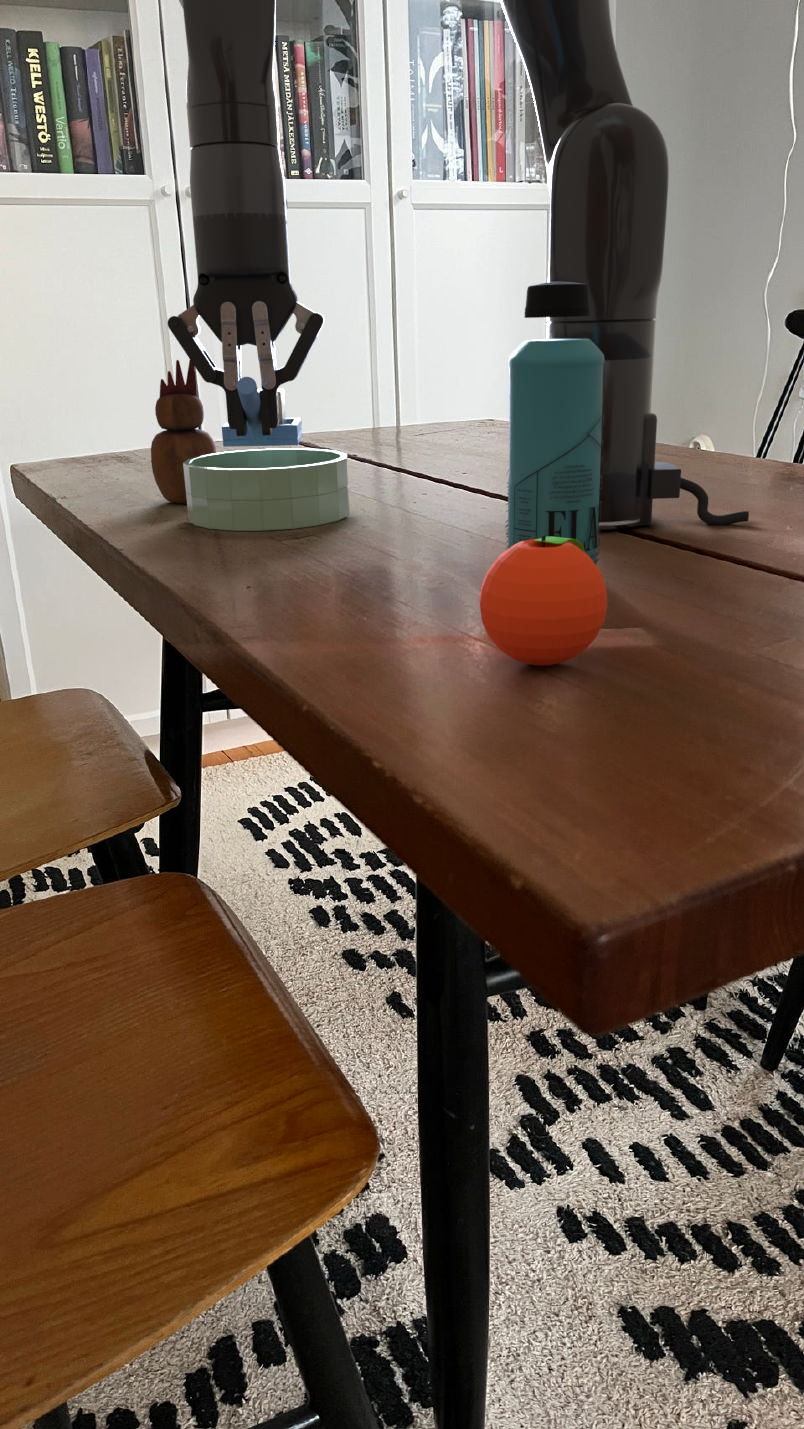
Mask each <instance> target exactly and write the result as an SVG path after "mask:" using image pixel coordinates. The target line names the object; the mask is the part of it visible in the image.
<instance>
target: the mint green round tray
mask: <svg viewBox="0 0 804 1429" xmlns="http://www.w3.org/2000/svg"><path fill="white" fill-rule="evenodd" d="M183 468H184V478H185V488H186V498H187V504H186V506H187V516H188V521H189V522H190V523H191V524H192V525H193V526H195V527H200V528H205V529H209V530H218V531H231V532H266V531H267V532H269V531H281V530H282V531H283V530H295V529H303V528H310V527H311V528H312V527H317V526H322V525H326V524H331V523H335V522H339V521H341V520H342V519H345V518H347V517H349V516H350V496H349V495H350V493H349V473H348V472H349V471H348V470H349V468H348V454H347V453H344V452H341V451H337V450H330V449H322V448H321V449H320V448H294V447H293V448H261V449H260V448H258V449H245V450H244V449H243V450H234V451H233V450H232V451H223V452H216V453H215V454H208V455H202V456H198V457H194V458H191V459H187V460H186V461H185V462H184V463H183Z"/></svg>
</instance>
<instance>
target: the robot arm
mask: <svg viewBox="0 0 804 1429" xmlns="http://www.w3.org/2000/svg"><path fill="white" fill-rule="evenodd" d="M178 2H179V4H180V6H181V9H182V12H183V20H184V22H183V23H184V29H185V30H184V31H185V39H186V48H187V62H188V67H187V74H186V87H185V89H186V90H185V92H186V94H185V97H186V98H185V99H186V115H187V127H188V128H187V129H188V138H189V139H188V140H189V149H190V151H189V152H190V165H189V190H190V204H191V214H192V226H193V227H192V228H193V239H194V252H195V262H196V271H197V272H196V274H197V286H196V290H195V292H194V295H193V298H192V302H193V304H192V305H191V306H189V307H188V308H186V309H185V310H183V311H182V312H181V313H179V314H178V315H172V316H170V317H169V318H168V320H167V327H168V329H169V330H170V331H171V333H172V335H173V336H174V337H175V339H176V341H177V343H178V344H179V345H180V346H181V348H182V350H183V351H184V352H185V354H186V356H187V357H188V359H189V361H190V360H191V362H192V363H193V365H194V368H195V369H196V371H197V372H198V374H199V375H200V377H201V378H202V380H203V381H204V382H205V383H208V384H213V385H216V386H219V387H220V388H222V389H223V391H224V394H225V402H226V404H225V405H226V417H227V422H228V424H229V427H230V429H236V434H237V436H246V435H247V423H246V417H245V414H244V410H243V407H242V404H241V400H240V397H239V393H238V390H237V383H238V381H239V380H240V379H241V378H242V356H243V355H242V347H243V346H245V345H252V346H255V347H256V352H257V360H258V364H259V373H260V383H261V384H260V386H261V388H260V389H261V390H260V391H259V394H260V401H261V406H260V409H261V424H262V435H263V436H264V435H271V434H272V428H277V426H278V423H279V408H278V389H280V388H279V387H280V386H281V385H284V384H286V383H288V382H292V381H294V380H295V379H296V378H298V375H299V373H300V372H301V369H302V368H303V366H304V364H305V362H306V360H307V358H308V356H309V354H310V352H311V350H312V348H313V346H314V345H315V342H316V340H317V338H318V337H319V334H320V332H321V330H322V329H323V327H324V324H325V317H324V315H323V314H322V313H320V312H315V311H313V310H312V309H310V308H308V307H307V306H305V305H304V304H302V303H300V302H299V301H298V296H297V293H296V291H295V290H294V287H293V286H292V283H291V282H292V281H291V268H290V254H289V253H290V250H289V235H288V218H287V217H288V215H287V212H288V199H287V196H286V182H285V176H284V175H285V174H284V169H283V164H282V158H281V150H280V131H279V116H278V114H279V112H278V101H277V93H276V84H275V69H274V66H275V65H274V63H275V60H274V59H275V48H276V47H275V45H276V42H275V41H276V6H277V4H276V2H277V0H178ZM499 2H500V4H501V8H502V10H503V13H504V15H505V19H506V21H507V23H508V26H509V29H510V31H511V34H512V36H513V39H514V42H515V43H516V47H517V49H518V51H519V54H520V56H521V59H522V60H521V61H522V62H523V65H524V68H525V71H526V75H527V79H528V82H529V85H530V89H531V93H532V98H533V101H534V102H533V103H534V107H535V112H536V116H537V121H538V127H539V133H540V138H541V144H542V150H543V156H544V161H545V167H546V175H547V187H548V192H549V197H550V202H549V203H550V206H549V207H550V208H549V209H550V210H549V212H550V214H549V254H548V255H549V256H548V258H549V260H548V275H547V283H548V282H560V281H562V282H574V283H581V284H587V287H588V302H589V316H575V317H546V322H547V323H546V338H545V339H590V340H591V341H592V342H593V343H594V344H595V345H596V346H597V347H598V348H599V349H600V351H601V352H602V353H603V355H604V364H603V387H602V391H603V393H602V413H603V414H605V415H604V427H603V422H602V430H601V437H602V438H601V440H602V439H603V441H604V442H603V443H602V441H601V448H602V449H601V459H600V462H601V463H600V475H602V476H600V480H601V482H602V483H601V482H600V487H602V489H600V488H599V493H600V494H599V505H600V504H601V528H600V506H599V519H598V520H599V521H598V528H599V530H598V531H611V530H623V529H629V528H634V527H640V526H652V520H653V519H652V517H653V503H654V502H653V501H654V500H659V499H679V498H680V497H681V490H682V491H686V492H688V493H690V494H692V495H693V496H694V497H695V498H696V499H697V505H696V514H697V516H698V518H699V519H700V521H702V522H704V524H707V525H709V526H728V525H732V524H737V523H743V522H744V523H745V522H746V523H747V522H749V514H750V512H749V510H742V511H735V512H732V513H731V512H730V513H727V514H720V515H717V514H713V513H711V512H709V509H708V508H709V495H708V493H707V492H706V491H705V490H704V488H703V487H702V486H701V485H699V484H698V483H696V482H694V481H692V480H689V479H687V478H684V477H682V469H681V468H679V467H678V466H675V465H673V464H671V463H669V462H667V461H656V449H657V448H656V447H657V432H658V431H657V429H658V417H657V415H656V413H653V412H652V393H653V379H654V378H653V376H654V360H655V359H654V357H655V341H656V340H655V338H656V323H657V322H656V320H655V319H656V318H657V306H658V298H659V297H658V295H659V290H660V287H661V282H662V276H663V267H664V252H665V238H666V228H667V213H668V211H667V210H668V197H669V176H670V174H669V173H670V170H669V169H670V168H669V167H670V165H669V153H668V148H667V144H666V141H665V138H664V135H663V133H662V130H661V129H660V128H659V126H658V125H657V123H656V122H655V120H654V119H652V117H650V115H648V114H647V113H646V112H644V111H643V110H641V109H639V108H638V107H637V106H636V107H635V106H634V104H633V101H632V99H631V96H630V92H629V90H628V86H627V83H626V79H625V77H624V74H623V70H622V68H621V64H620V61H619V57H618V53H617V49H616V43H615V39H614V34H613V26H612V20H611V9H610V8H611V7H610V0H499ZM293 314H294V316H295V319H296V321H295V324H294V328H295V331H296V332H297V333H298V334H299V337H298V339H297V341H296V343H295V345H294V347H293V349H292V351H291V353H290V355H289V357H288V359H287V361H286V363H285V365H284V366H282V367H280V368H278V366H277V356H276V354H277V353H276V346H275V342H276V341H277V340H278V338H279V337H280V335H281V334H282V332H283V330H284V329H285V327H286V325H287V324H288V322H289V320H291V317H292V315H293ZM200 317H201V319H202V320H203V321H204V323H205V324H206V325H207V327H208V328H209V329H210V330H211V332H212V333H213V334H214V336H215V337H216V339H217V340H218V341H219V342H220V343H221V350H222V352H221V353H222V354H221V355H222V364H223V369H222V368H218V366H217V365H216V363H215V362H214V361H213V359H212V358H211V356H210V355H209V353H208V351H207V350H206V347H204V345H203V344H202V342H201V341H200V339H199V338H198V336H199V335H200V333H201V326H200V324H199V319H200ZM603 394H604V395H603ZM604 398H605V399H604ZM604 407H605V408H604ZM603 411H604V412H603ZM603 430H604V431H603ZM603 436H604V437H603ZM602 444H603V445H602ZM602 446H603V447H602ZM602 450H603V452H602ZM602 458H603V459H602ZM601 460H602V461H601ZM601 478H602V479H601ZM601 490H602V492H601ZM600 501H601V503H600Z"/></svg>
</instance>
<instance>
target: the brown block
mask: <svg viewBox="0 0 804 1429" xmlns="http://www.w3.org/2000/svg"><path fill="white" fill-rule="evenodd" d="M257 389H258V393H259V391H260V390H261V389H262V388H257ZM259 397H260V394H259ZM278 408H279V423H278V425H284V424H286V418H287V416H286V400H285V388H278ZM246 423H247V421H246ZM247 425H248V424H247Z"/></svg>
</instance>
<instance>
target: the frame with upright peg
mask: <svg viewBox="0 0 804 1429" xmlns="http://www.w3.org/2000/svg"><path fill="white" fill-rule="evenodd" d="M258 389H259V388H258V386H257V382H256V381H255V379H254V378H253V377H251V376H243V377H241V379H240V380H239V381H238V383H237V390H238V393H239V397H240V400H241V404H242V407H243V410H244V414H245V417H246V421H247V424H248V425H247V435H246V436H237V434H236V429H230V427H229V424H228V421H227V422H226V423H224V424H223V425H222V426H221V436H222V446H223V447H224V448H228V447H229V448H230V447H232V448H233V447H274V446H275V447H276V446H277V447H278V446H280V447H281V446H299V444H300V442H301V440H302V438H303V423H302V417H286V424H284V425H278V426H277V428H272V434H271V435H264V436H263V435H262V424H261V409H260V406H261V401H260V397H259V393H258Z"/></svg>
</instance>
